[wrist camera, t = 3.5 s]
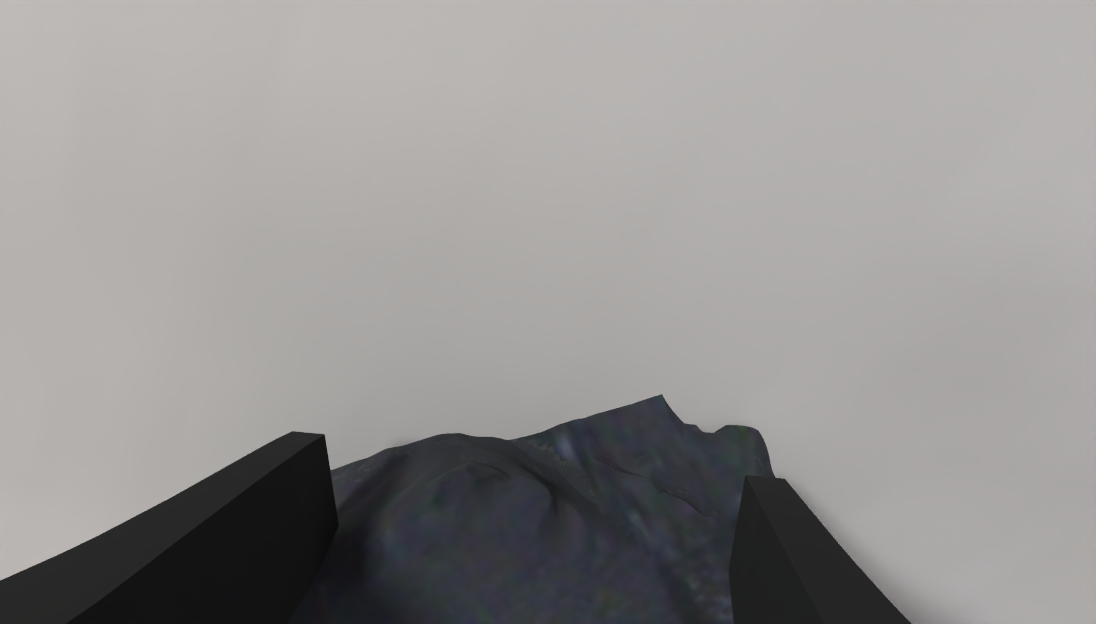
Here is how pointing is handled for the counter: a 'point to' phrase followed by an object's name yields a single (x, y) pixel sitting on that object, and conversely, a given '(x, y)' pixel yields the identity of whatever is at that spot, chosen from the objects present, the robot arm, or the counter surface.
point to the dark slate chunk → (541, 526)
